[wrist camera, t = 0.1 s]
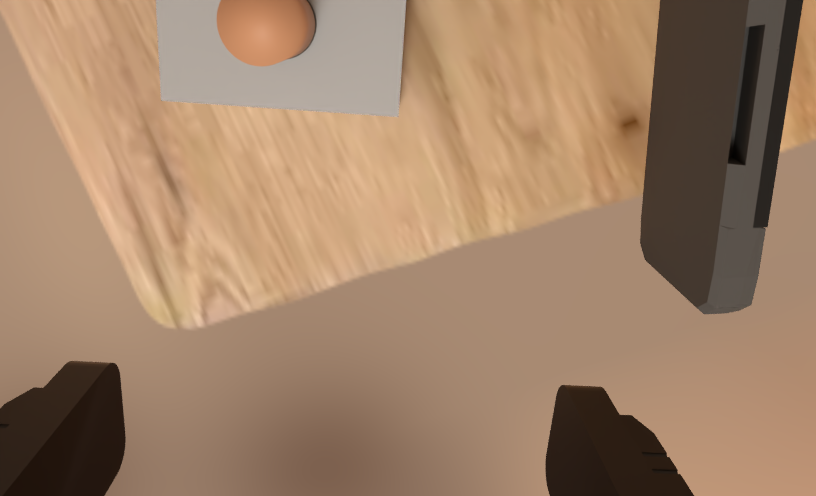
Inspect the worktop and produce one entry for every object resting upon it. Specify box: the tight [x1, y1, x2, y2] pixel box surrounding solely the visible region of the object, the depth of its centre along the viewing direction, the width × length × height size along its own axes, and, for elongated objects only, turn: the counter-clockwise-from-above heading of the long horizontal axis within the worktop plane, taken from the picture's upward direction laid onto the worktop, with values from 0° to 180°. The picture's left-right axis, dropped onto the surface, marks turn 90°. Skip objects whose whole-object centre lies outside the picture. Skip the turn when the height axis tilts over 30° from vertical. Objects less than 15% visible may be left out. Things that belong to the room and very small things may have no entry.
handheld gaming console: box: [640, 0, 803, 314], centre depth 34 cm, size 23×3×10 cm, turn 2°
